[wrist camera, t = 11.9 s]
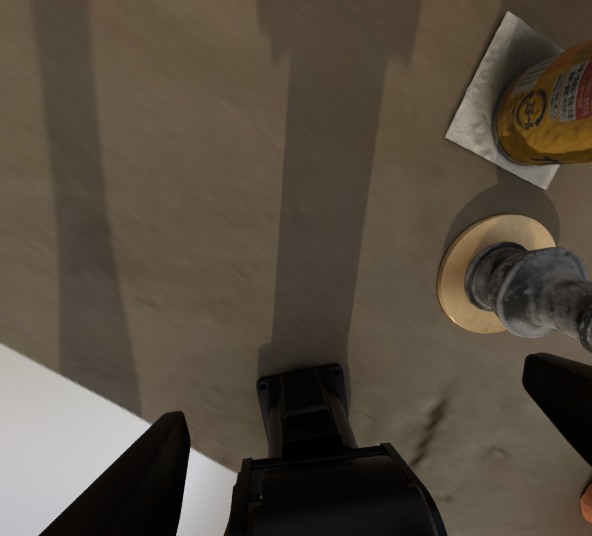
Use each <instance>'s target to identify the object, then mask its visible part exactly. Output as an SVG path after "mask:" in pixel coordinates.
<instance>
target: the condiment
mask: <svg viewBox="0 0 592 536" xmlns="http://www.w3.org/2000/svg"><path fill="white" fill-rule="evenodd" d="M445 138H447V139H449V140H451V141H453V142H455V143H457V144H459V145H460V146H462V147H464V148H466V149H469V150H471V151H472V152H474V153H476V154H478V155H480V156H482V157H484V158H485V159H487V160H489V161H491V162H493V163H495V164H496V165H498V166H500V167H502V168H503V169H505V170H507V171H509V172H511V173H513V174H515V175H517V176H519V177H521V178H522V179H524V180H526V181H529V182H531V183H532V184H534V185H536V186H538V187H540V188H543V189H545V190H546V189H547V187H548V185H549V184H550V182H551V180H552V179H553V177H554V175H555V173H556V171H557V169H558V168H559V166H560V165H562V164H573V163H584V162H585V163H589V162H592V39H590V40H588V41H586V42H583V43H581V44H579V45H577V46H575V47H572V48H570V49H568V50H566V51H564V50H563V49H562V48H561V47H558V46H557V45H556V43H555V42H553V41H552V40H550V39H548V38H546V37H544V36H543V35H542V34H541V33H538V32H536V31H535V30H534V29H532V28H531V27H529V26H528V25H527V24H526V23H525V22H524V21H523V20H522V19H520V18H518V17H516V16H515V15H513V14H512V13H510V12H507V14H506V15H505V17H504V19H503V21H502V23H501V25H500V27H499V29H498V30H497V32H496V34H495V36H494V38H493V40H492V42H491V44H490V46H489V48H488V50H487V52H486V54H485V56H484V58H483V59H482V61H481V63H480V66H479V68H478V70H477V72H476V74H475V76H474V78H473V80H472V82H471V84H470V86H469V87H468V88H467V91H466V94H465V97H464V99H463V101H462V103H461V105H460V107H459V109H458V111H457V113H456V115H455V117H454V119H453V122H452V124H451V126H450V128H449V130H448V132H447V134H446V136H445Z"/></svg>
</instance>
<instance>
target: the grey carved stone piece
mask: <svg viewBox="0 0 592 536" xmlns="http://www.w3.org/2000/svg"><path fill="white" fill-rule="evenodd" d="M464 290H465V293H466V297H467V298H468V300H469V301H470V303H471V304H473V305H474V306H475V307H476V308H478V309H481V310H484V311H489V312H494V313H495V314H496V316H497V317H498V318H499V320H500V321H501V323H502V324H503V326H504V327H505V328H506V329H507V330H508V331H510V332H511V333H512V334H514V335H517V336H520V337H523V338H537V337H542V336H546V335H548V334H551V333H553V332H555V331H557V330H559V331H561V332H563V333H565V334H567V335H569V336H572V337H574V338H576V339H578V340H580V342H581V344H582V346H583V347H584V348H585V349H586V350H587V351H588V352H590V353H592V282H589V280H588V273H587V269H586V267H585V265H584V263H583V261H582V259H581V258H580V257H579V256H578V255H577V254H576V253H574V252H572V251H570V250H568V249H565V248H559V247H548V248H543V249H536V250H531V251H528V250H527V249H526V248H524V247H523V246H522V245H519V244H517V243H515V242H506V241H504V242H498V243H494V244H492V245H490V246H488V247H486V248H484V249H483V250H482V251H481V252H479V253H478V254H477V255H476V256H475V258H474V259H473V260H472V261H471V263H470V265H469V267H468V269H467V271H466V274H465V278H464Z"/></svg>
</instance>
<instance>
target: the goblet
mask: <svg viewBox="0 0 592 536" xmlns="http://www.w3.org/2000/svg"><path fill="white" fill-rule="evenodd" d="M580 505H581V513H582V515H583V517H584V518H585V519H586V520H587V521H588V522H590V523H591V524H592V483H591V484H590V485H588V487H587V489H586V491H585V493H584V495H583V496H582V498H581V500H580Z"/></svg>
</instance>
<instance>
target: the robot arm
mask: <svg viewBox="0 0 592 536" xmlns="http://www.w3.org/2000/svg"><path fill="white" fill-rule="evenodd" d="M334 370H338V371H337V372H333V371H334ZM522 383H523V386H524V388H525V390H526V391H527V393H528V394H529V395H530V396H531V398H532V399H533V400H534V401H535V402H536V404H537V405H538V406H539V407H540V408H541V410H542V411H543V412H544V413H545V415H546V416H547V417H548V418H549V419H550V421H551V422H552V423H553V424H554V425H555V427H556V428H557V429H558V430H559V432H560V433H561V434H562V435H563V436H564V438H565V439H566V440H567V441H568V442H569V443H570V445H571V446H572V447H573V448H574V449H575V450H576V451H577V452H578V453H579V454H580V456H581V457H582V458H583V459H584V460H585V461H586V462H587V463H588V464H589V465H590V466H591V467H592V366H590V365H586V364H583V363H579V362H576V361H572V360H569V359H565V358H562V357H558V356H555V355H552V354H548V353H536V354H530V355H528V356H527V357H526V358H525V363H524V370H523V377H522ZM261 384H266V385H265V386H261ZM256 388H257V393H258V398H259V402H260V407H261V412H262V416H263V421H264V426H265V430H266V435H267V440H268V458H266V459H257V460H253V459H252V458H247V459H243V461H242V468H241V472H238V476H237V482H236V484H235V485H234V487H233V494H232V503H231V511H230V517H229V521H228V524H227V527H226V530H225V533H224V536H447V532H446V529H445V526H444V524H443V521H442V518H441V515H440V513H439V511H438V509H437V506H436V504H435V502H434V500H433V499H432V497H431V495H430V493H429V492H428V490H427V489H426V487H425V486H424V485H423V484H422V482H421V481H420V480H419V479H418V477H417V476H416V475H415V474H414V472H413V471H412V470H411V469H410V467H409V466H408V465H407V464H406V462H405V461H404V460H403V459H402V457H401V456H400V455H399V454H398V452H397V451H396V450H395V449H394V447H393V446H392V445H391V444H390V443H381V444H380V446H372V447H363V448H358V446H357V443H356V440H355V438H354V435H353V432H352V429H351V426H350V424H349V420H348V412H347V403H346V394H345V385H344V377H343V370H342V368H341V366H340V365H339V364H331V365H326V366H320V367H312V368H307V369H301V370H296V371H291V372H285V373H282V374H278V375H273V376H267V377H262V378H259V379H258V380H257V384H256ZM190 444H191V442H190V434H189V431H188V427H187V423H186V419H185V416H184V413H183V412H182V411H174V412H168V413H165V414H163V415H162V416H161V417H160V418H159V419H158V420H157V421H156V422H155V423H154V424H153V425H152V426H151V427H150V428H149V429H148V430H147V431H146V432H145V433H144V434H143V435H142V436H140V438H138V439H137V440H136V441H135V442H134V443H133V444H132V445H131V446H130V447H129V448H128V449H127V450H126V451H125V452H124V453H123V454H122V455H121V456H120V457H119V458H118V459H117V460H116V461H115V462H114V463H113V464H112V465H111V466H110V467H109V468H108V469H107V470H105V471H104V472H103V474H101V475H100V476H99V478H97V479H96V480H95V481H94V482H93V483H92V484H91V485H90V486H89V487H88V488H87V489H86V490H85V491H84V492H83V493H82V494H81V495H80V496H79V497H78V498H77V499H76V500H75V501H74V502H73V503H72V504H70V505H69V506H68V507H67V508H66V509H65V510H64V511H63V512H62V513H61V514H60V515H59V516H58V517H57V518H56V519H55V520H54V521H53V522H52V523H51V524H50V525H49V526H48V527H47V528H46V529H45V530H44V531H43V532H42V533H41V534H40V535H39V536H176V533H177V528H178V524H179V520H180V513H181V508H182V501H183V494H184V487H185V480H186V473H187V466H188V459H189V453H190Z"/></svg>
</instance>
